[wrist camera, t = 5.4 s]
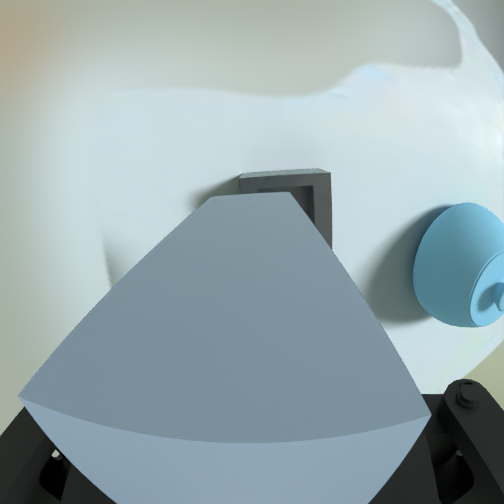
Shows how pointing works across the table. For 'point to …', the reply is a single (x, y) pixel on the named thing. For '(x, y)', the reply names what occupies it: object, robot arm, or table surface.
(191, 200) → the table surface
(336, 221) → the table surface
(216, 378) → the panel
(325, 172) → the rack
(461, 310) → the sugar bowl
